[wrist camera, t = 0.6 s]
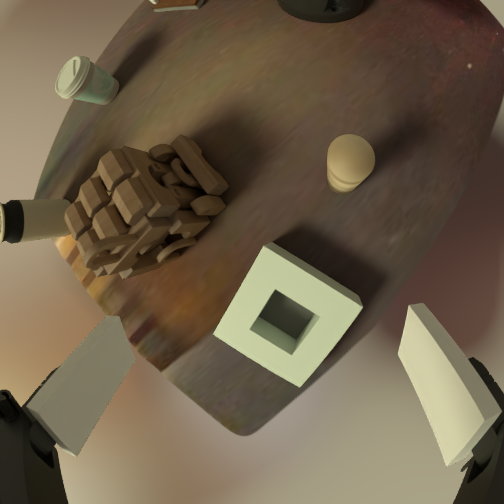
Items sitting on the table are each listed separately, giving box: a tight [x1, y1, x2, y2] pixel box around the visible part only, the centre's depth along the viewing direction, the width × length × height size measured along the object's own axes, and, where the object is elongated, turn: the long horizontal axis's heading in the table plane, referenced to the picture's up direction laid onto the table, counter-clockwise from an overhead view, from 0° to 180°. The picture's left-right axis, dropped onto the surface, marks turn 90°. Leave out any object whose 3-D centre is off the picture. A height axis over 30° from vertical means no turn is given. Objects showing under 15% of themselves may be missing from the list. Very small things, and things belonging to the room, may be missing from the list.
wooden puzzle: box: [65, 135, 229, 279], centre depth 32 cm, size 22×15×19 cm, turn 128°
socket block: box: [213, 242, 363, 387], centre depth 35 cm, size 14×14×5 cm
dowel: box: [327, 134, 375, 195], centre depth 27 cm, size 4×4×14 cm
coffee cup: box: [55, 56, 119, 105], centre depth 36 cm, size 9×8×12 cm
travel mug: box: [0, 199, 71, 243], centre depth 39 cm, size 8×8×18 cm
